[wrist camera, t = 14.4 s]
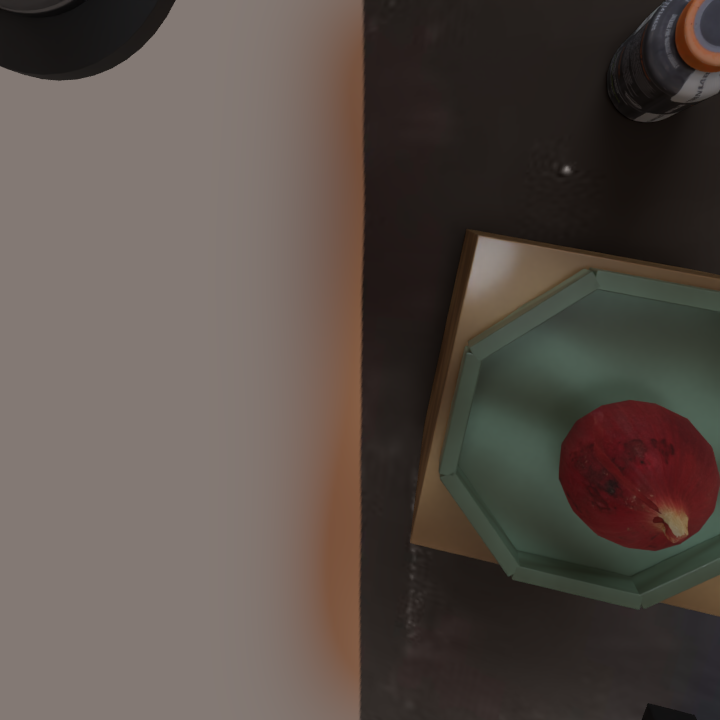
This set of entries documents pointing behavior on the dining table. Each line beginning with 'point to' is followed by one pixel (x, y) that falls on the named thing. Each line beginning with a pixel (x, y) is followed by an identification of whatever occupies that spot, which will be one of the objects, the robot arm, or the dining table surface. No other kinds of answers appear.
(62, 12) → the robot arm
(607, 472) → the onion
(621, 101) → the pill bottle
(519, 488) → the stand
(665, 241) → the dining table surface
